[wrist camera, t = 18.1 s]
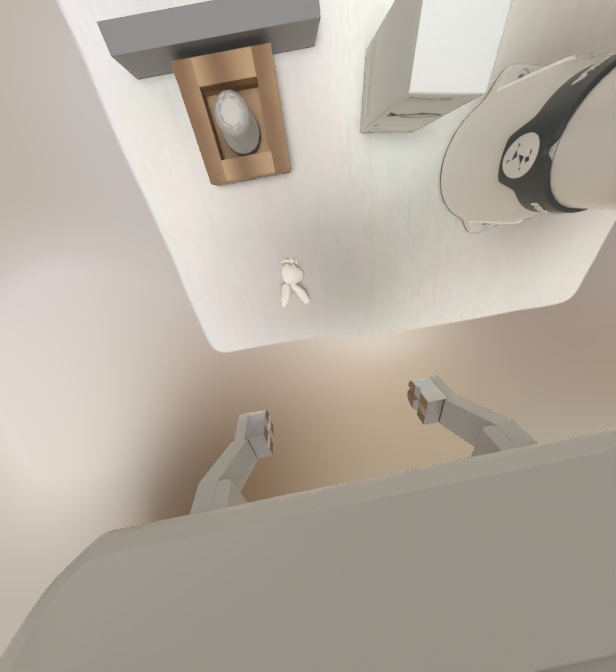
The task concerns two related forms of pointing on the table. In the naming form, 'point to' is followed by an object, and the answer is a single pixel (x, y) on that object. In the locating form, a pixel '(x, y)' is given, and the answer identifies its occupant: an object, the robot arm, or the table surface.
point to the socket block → (261, 98)
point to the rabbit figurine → (291, 282)
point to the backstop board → (208, 31)
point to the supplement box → (429, 61)
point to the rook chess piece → (237, 123)
